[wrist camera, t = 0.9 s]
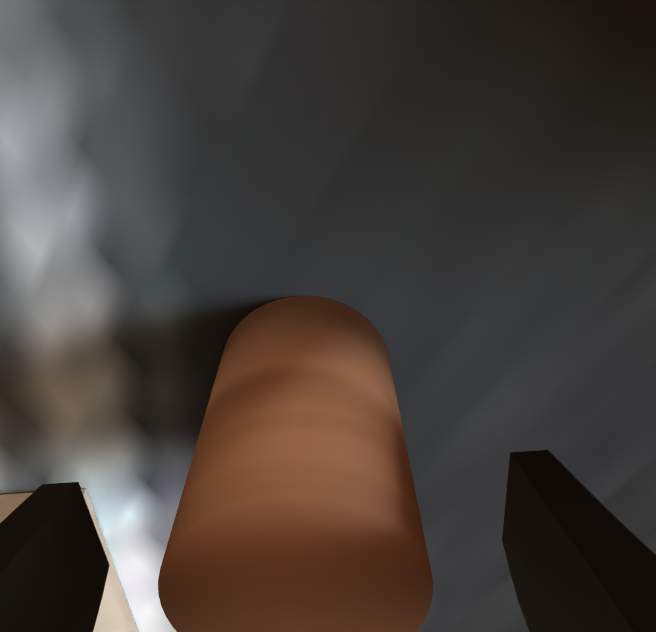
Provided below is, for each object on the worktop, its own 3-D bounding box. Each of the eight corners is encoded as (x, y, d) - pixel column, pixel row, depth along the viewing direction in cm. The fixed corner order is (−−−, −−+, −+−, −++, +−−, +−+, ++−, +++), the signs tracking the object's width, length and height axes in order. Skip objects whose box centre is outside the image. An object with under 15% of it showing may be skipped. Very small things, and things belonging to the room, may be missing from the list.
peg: (391, 431, 15) (432, 670, 9) (235, 442, 15) (187, 684, 9) (387, 289, 13) (433, 486, 7) (208, 302, 13) (129, 506, 8)
